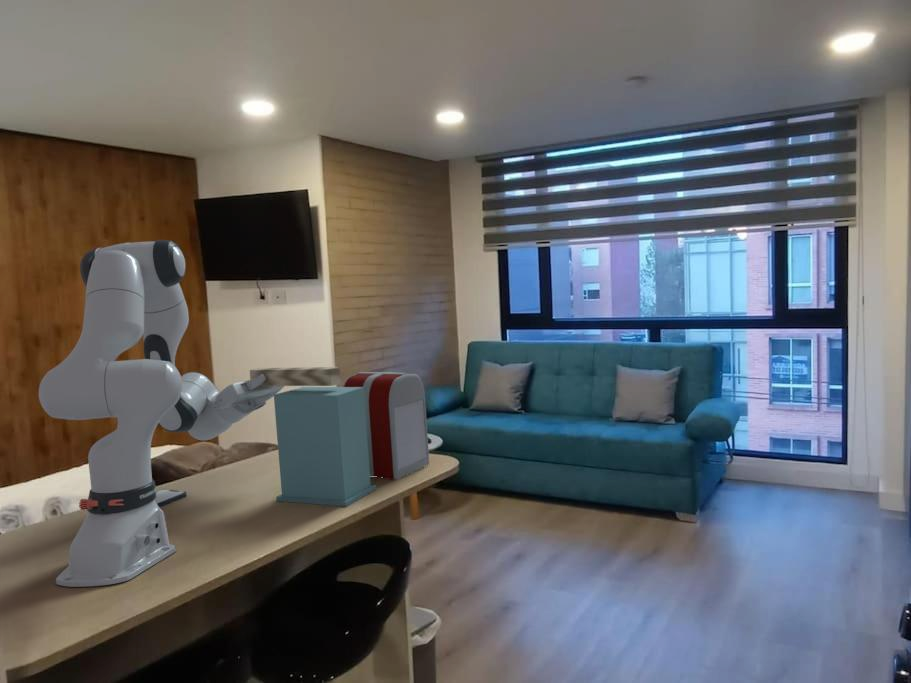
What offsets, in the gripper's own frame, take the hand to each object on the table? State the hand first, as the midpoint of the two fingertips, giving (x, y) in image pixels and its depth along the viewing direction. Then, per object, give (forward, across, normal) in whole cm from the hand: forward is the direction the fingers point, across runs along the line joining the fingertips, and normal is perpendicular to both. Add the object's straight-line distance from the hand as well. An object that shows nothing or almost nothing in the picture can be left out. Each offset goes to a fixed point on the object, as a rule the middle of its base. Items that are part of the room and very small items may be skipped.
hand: (272, 374), depth 178 cm
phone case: (-39, -16, +13) cm, 44 cm away
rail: (+5, 0, +6) cm, 7 cm away
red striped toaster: (0, +25, +35) cm, 43 cm away
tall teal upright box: (-3, 0, +33) cm, 33 cm away
